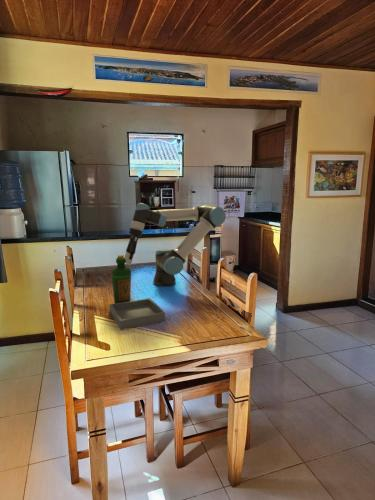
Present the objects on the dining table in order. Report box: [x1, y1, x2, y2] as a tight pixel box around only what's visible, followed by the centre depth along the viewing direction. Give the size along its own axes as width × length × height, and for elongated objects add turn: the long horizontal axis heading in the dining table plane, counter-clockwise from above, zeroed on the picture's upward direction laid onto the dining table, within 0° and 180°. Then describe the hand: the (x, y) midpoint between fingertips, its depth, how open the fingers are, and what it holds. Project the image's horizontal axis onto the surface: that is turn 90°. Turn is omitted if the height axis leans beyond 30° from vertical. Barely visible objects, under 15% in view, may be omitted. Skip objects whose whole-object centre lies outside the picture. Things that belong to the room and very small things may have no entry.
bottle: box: [111, 254, 132, 304], centre depth 176 cm, size 11×11×28 cm
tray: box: [108, 297, 166, 331], centre depth 162 cm, size 22×22×4 cm
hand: (126, 263), depth 187 cm, fingers open, 13 cm apart
